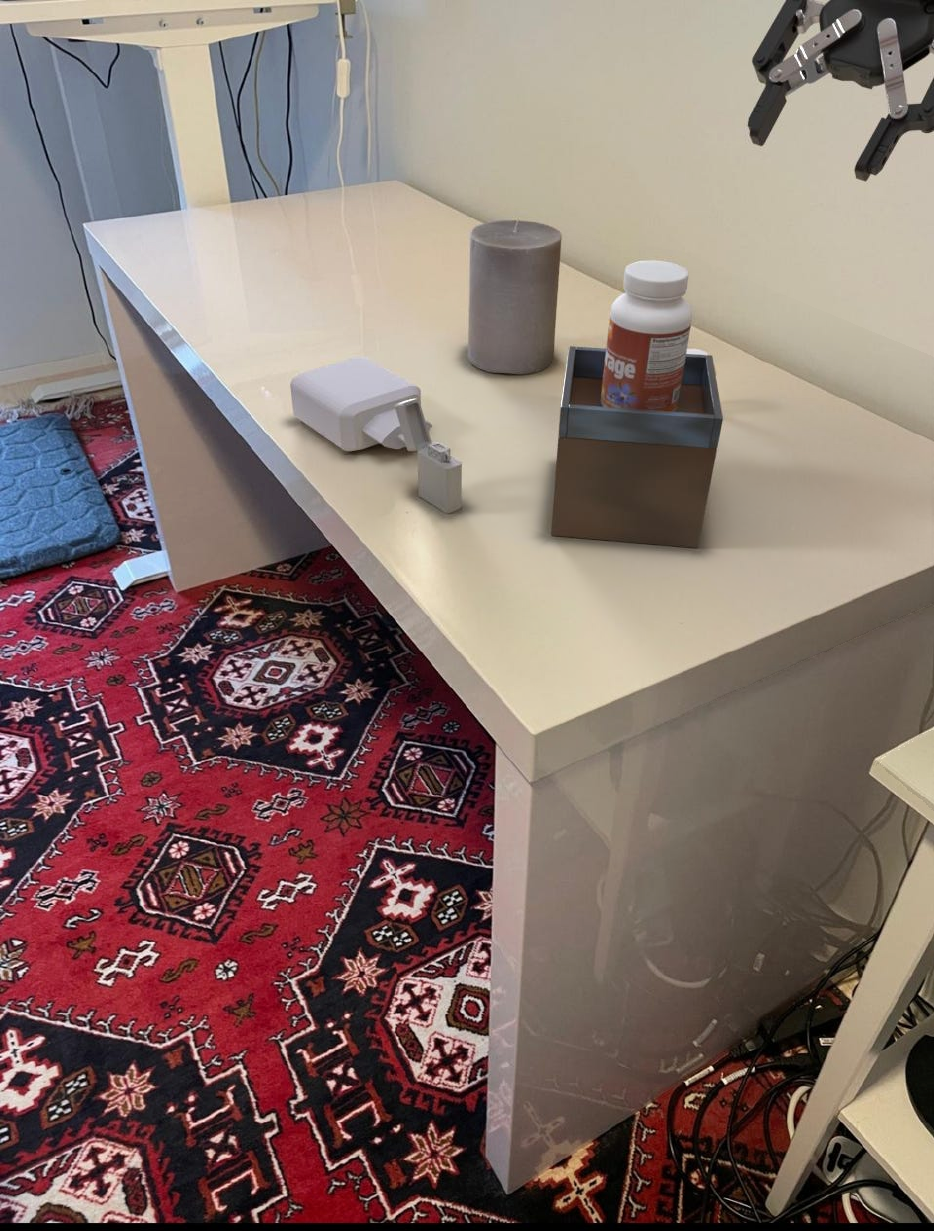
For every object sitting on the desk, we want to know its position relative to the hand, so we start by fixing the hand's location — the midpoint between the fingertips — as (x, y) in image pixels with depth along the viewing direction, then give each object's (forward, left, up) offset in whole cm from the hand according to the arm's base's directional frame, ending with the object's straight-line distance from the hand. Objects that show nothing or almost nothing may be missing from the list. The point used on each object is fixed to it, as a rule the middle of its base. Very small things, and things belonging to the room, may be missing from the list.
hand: (806, 157), depth 71 cm
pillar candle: (+23, -23, -27) cm, 42 cm away
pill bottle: (+10, +7, -18) cm, 22 cm away
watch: (+4, -13, -27) cm, 30 cm away
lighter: (+27, +8, -27) cm, 39 cm away
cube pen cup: (+10, +7, -27) cm, 30 cm away
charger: (+34, -2, -27) cm, 44 cm away
